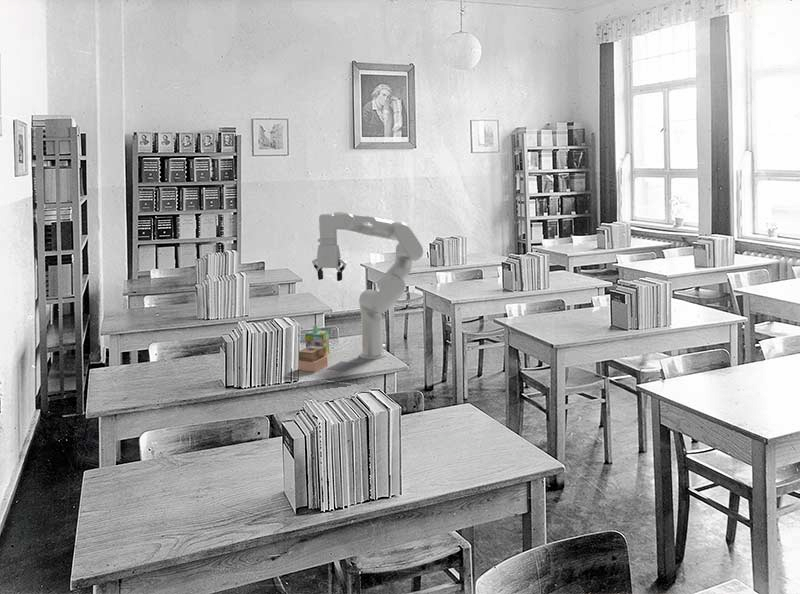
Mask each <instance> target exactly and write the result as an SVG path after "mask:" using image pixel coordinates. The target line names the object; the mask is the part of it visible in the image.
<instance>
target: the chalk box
mask: <svg viewBox="0 0 800 594" xmlns="http://www.w3.org/2000/svg"><path fill="white" fill-rule="evenodd" d="M329 336H330V335H329V330H322V329H318V326H317V324H314V325H313V330H309V331H308V332H306V333H305V334H304V337H305V338H304V339H305V348H307V347H309V346H319V347H325V356H327V357H328V355H329V354H330V337H329Z"/></svg>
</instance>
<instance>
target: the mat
mask: <svg viewBox="0 0 800 594" xmlns="http://www.w3.org/2000/svg"><path fill="white" fill-rule="evenodd" d="M361 363H362V362H361ZM361 363H360V362H352V361H342V360H341V361H339V362H337V363H336V364H334V365H332V366H330V367H328V368H326V369H325V370H329V371H336V372H348V371H350V370H352V369H353V368H355V367H357V366H358V365H360V364H361Z"/></svg>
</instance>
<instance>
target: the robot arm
mask: <svg viewBox="0 0 800 594" xmlns="http://www.w3.org/2000/svg"><path fill="white" fill-rule="evenodd" d="M318 223H319V226H318V227H319V228H318V229H319V238H317V243H319V245H318V246H317V253H316V258H315V259H313V260H312V261H311V262H312V265H313V267H314V269H315V270H316V272H317V278H318V281H321V280H323V279H324V270H323V269H326V268H327V269H336V271H337V272H336V281H337V282H340V281H343V272H344V270H345V269H346V267H347V264H348V262H347V260H344V259H342V258H341V257H342V255H341V250H340V246H339V244H338V231H337V230H340V231H341V230H342V231H343V230H344V231H349V232H355V233H359V234H362V235H364V236H370V237H376V238H381V239H387V240H392V241H398V243H397V244H396V246H395V247H396V248H395V260H394V263H393V264H392V265H391V266H390V268H389V269H388V270H386V272H384V274H382V275H381V277H380V278H378V280H377V283H376V288H377V289H378V291H377V290H374V289H365V290H364V291H362V292H361V293H360V296H359V297H358V298H359V300H358V304H359V309H360V317H361V341H362V342H361V343H362V349H361V350H362V352H360V353H359V354H358V355H359V357H360V358H361V359H365V360H378V359H379V360H380V359H382V358H385V357H387V352H385V351H384V350H383V349H385V348H386V344H384V343H383V317H382V314H383V313H386V312H387V311H388V310H389V309H390V308H391V307H393V305H394V304H395V303H396V302H397V301H398V300H399V299H400V298H401V297H402V296H403V295H404V293H405V290H406V282H405V279H406V278H407V277H408V276H409V274H410V272H411V270H412V264H413V263H412V262H415V261H419V260H420V259H421V258H422V257H423V255H424V249H423V246H422V244H421V242H420V241H419V239H418V238H417V236H416V235H415V233H414V231H413V230H412V228H411V226H409V225H408V224H407V223H405V222H399V221H394V220H390V219H383V218H380V217H374V216H365V215H364V216H363V215H357V214H352V213H349V212H342V211H336V212H334V213H322V214H320V215H319V217H318Z"/></svg>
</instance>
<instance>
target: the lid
mask: <svg viewBox="0 0 800 594" xmlns="http://www.w3.org/2000/svg"><path fill="white" fill-rule="evenodd" d="M323 356H325V347H319V346H309V347H307V348H306V347H305V348H303V349H301V350H299V361H307V362H313V361H315V360H317V359H319V358H321V357H323Z"/></svg>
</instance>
